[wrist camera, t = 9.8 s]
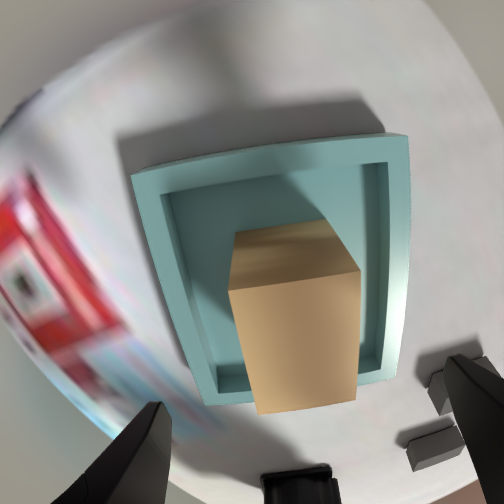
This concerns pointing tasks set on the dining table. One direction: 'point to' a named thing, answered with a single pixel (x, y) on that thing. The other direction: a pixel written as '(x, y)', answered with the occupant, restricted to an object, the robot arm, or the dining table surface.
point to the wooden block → (296, 315)
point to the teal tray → (274, 214)
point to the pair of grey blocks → (444, 441)
